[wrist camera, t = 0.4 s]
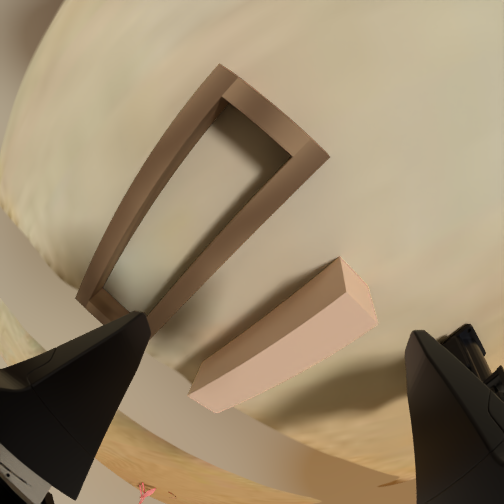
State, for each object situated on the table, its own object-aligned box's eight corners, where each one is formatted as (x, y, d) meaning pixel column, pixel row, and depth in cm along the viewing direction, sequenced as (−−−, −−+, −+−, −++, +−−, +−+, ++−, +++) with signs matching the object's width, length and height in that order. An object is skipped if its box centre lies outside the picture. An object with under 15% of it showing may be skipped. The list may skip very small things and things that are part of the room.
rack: (327, 153, 17) (330, 157, 15) (147, 337, 28) (136, 352, 26) (230, 70, 16) (219, 63, 14) (88, 286, 27) (75, 298, 25)
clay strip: (367, 283, 21) (378, 324, 17) (228, 377, 29) (215, 413, 24) (339, 254, 20) (346, 292, 16) (202, 360, 28) (187, 395, 24)
